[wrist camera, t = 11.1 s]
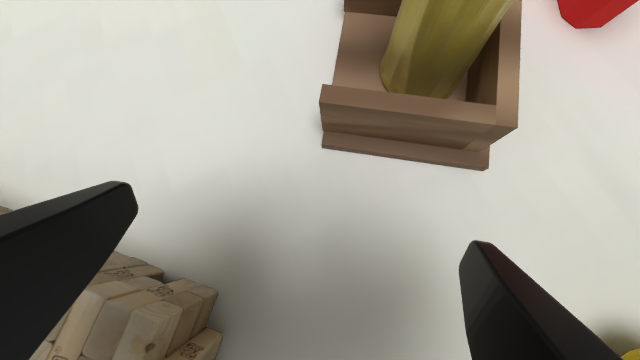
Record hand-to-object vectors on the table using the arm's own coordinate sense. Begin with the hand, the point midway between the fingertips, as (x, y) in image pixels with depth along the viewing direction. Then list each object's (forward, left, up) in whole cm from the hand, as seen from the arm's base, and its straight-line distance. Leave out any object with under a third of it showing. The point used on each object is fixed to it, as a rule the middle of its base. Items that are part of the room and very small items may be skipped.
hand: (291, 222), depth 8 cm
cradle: (+14, -4, -14) cm, 20 cm away
